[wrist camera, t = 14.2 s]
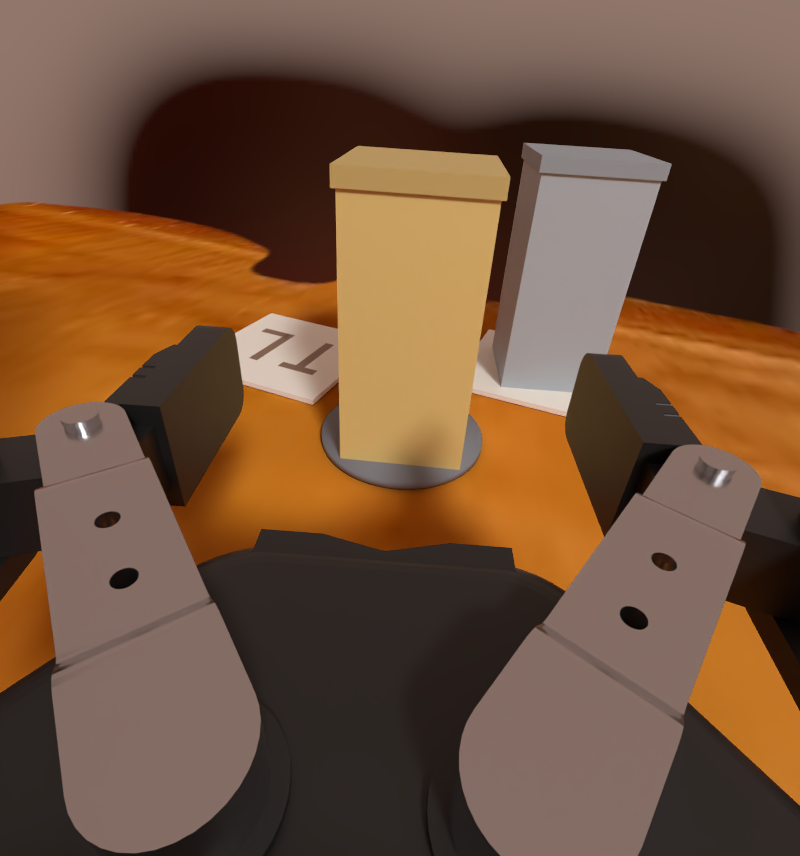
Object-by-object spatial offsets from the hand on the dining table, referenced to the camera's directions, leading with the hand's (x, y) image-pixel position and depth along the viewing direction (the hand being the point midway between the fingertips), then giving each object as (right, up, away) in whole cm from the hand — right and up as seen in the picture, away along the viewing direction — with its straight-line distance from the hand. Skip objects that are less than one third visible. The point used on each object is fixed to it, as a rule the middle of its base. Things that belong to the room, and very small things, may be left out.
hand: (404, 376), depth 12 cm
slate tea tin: (+9, +3, +20) cm, 22 cm away
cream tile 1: (-7, +4, +21) cm, 22 cm away
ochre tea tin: (0, -1, +14) cm, 14 cm away
